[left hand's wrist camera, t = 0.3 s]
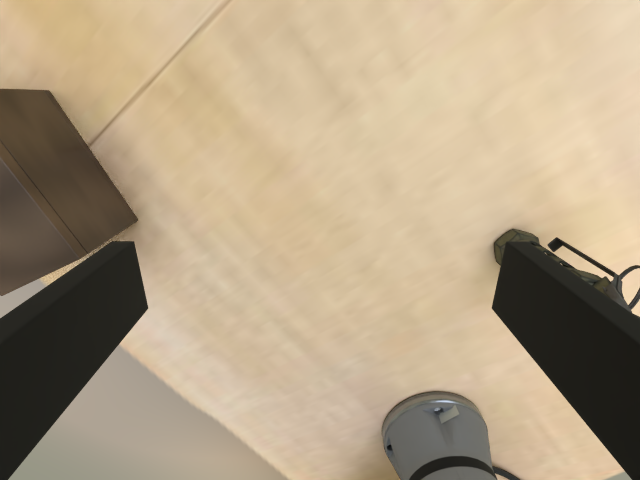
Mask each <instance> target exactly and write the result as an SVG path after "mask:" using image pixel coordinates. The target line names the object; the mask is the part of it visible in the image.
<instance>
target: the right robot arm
mask: <svg viewBox="0 0 640 480" xmlns="http://www.w3.org/2000/svg"><path fill="white" fill-rule="evenodd" d="M382 438H383V444H384V449H385V452H386V454H387V456H388V458H389V460H390V461H391V463H392V465H393V467H394V469H395V470H396V472H397V474H398V476H399V478H400V479H401V480H497V478H496V475H495V473H496V474H499V475H501V476H504V477H506V478H507V479H509V480H520V479H518V478H517V477H515V476H513V475H512V474H510V473H508V472H506V471H504V470H502V469H500V468H497V467H494V466H492V461H491V454H490V446H489V440H488V430H487V426H486V423H485V421H484V420H483V418H482V416H481V414H480V412H479V410H478V409H477V407H476V406H475V405H474V404H473V403H472V402H471V401H469V400H468V399H466V398H464V397H462V396H459V395H456V394H453V393H447V392H429V393H423V394H419V395H416V396H413V397H411V398H408V399H406V400H405V401H403V402H401V403H400V404H398V405H397V406H396V407H395V408H394V409H393V410H392V411H391V412H390V413H389V414H388V416H387V417H386V419H385V421H384V424H383V427H382Z"/></svg>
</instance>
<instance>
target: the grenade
mask: <svg viewBox="0 0 640 480" xmlns="http://www.w3.org/2000/svg"><path fill="white" fill-rule="evenodd" d="M506 241H528V242H529V243H531V244H532V245H534V246H535V247H537V248H538V249H539V250H541V251H542V252H544V253H546V254H547V255H548V256H550V257H551V258H553V259H554V260H555V261H557V262H558V263H561V264H562V265H563V266H564V267H566V268H567V269H569V270H570V271H571V272H573V273H574V274H576V275H577V276H579V277H580V278H582V279H583V280H585V281H586V282H587V283H589V284H590V285H592V286H593V287H595V288H596V289H598V290H599V291H601V292H602V293H603V294H605V295H606V296H608V297H609V298H611V299H612V300H614V301H615V302H617V303H618V304H619V305H621V306H622V307H624V308H625V309H627V310H628V311H630V312H631V313H632V311H631V309H632V308H633V307H634V306H635V305H636V304H637V302H638V301H639V299H640V288H639V290H638V292H637V294H636V296H635V297H634V299H633V300H632V302H631V303H630V304H629V305H627V303H626V301H625V300H624V297H623V294H622V281H621V280H622V278H623V277H624V276H625V275H627V274H628V273H629V272H631V271H632V270H634V269H637V268H640V266H639V265H635V266H632V267H629V268H628V269H626V270H625V271H623V272H622V273H621V274H620V275H617V274H616V273H615V272H613V271H611V270H610V269H608V268H606V267H605V266H603V265H602V264H600V263H598V262H597V261H595V260H593V259H592V258H590V257H588V256H587V255H585V254H583V253H582V252H580V251H578V250H577V249H575V248H574V247H572V246H570V245H569V244H567V243H565V242H564V241H562V240H560V239H559V238H555V239H554V240H553V241H551V242H550V243H549V244H548V247H549V248H550V249H551V250H552V251H553V252H555V251H556V250H557V249H559V248H560V247H561V246H565V247H566V248H568V249H569V250H571V251H573V252H574V253H576V254H577V255H579V256H581V257H582V258H584V259H585V260H587V261H589V262H590V263H592V264H593V265H595V266H597V267H598V268H600V269H601V270H603V271H605V272H606V273H608V274H609V275H611V276H613V277H614V280H613V281H611V282H610V281H609V279H608V278H607V277H606V276H605V277H604V278H600V277H599V276H597V275H594V274H591V273H588V272H584V271H580V270H577V269H575V268H574V267H573V266H571V265H570V264H568V263H567V262H565V261H564V260H562V259H561V258H559V257H557V256H556V255H555V254H553V253H552V252H550V251H549V250H547V249H546V248H544V247H542V246H541V245H540V244H539V239H538V237H536V236H535V235H533V234H531V233H527V232H524V231H520V230H516V229H512V230H510V231H508V232H507V233H505V234H504V235H502V236H501V237H500V238H499V239H498V240H497V241H496V242H495V244H494V250H495V257H496V262H497V263H498V264H500V265H501V263H502V258H503V253H504V249H505V244H506Z"/></svg>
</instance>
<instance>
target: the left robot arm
mask: <svg viewBox="0 0 640 480" xmlns="http://www.w3.org/2000/svg"><path fill="white" fill-rule="evenodd" d="M147 309H148V305H147V300H146V295H145V291H144V286H143V281H142V277H141V272H140V267H139V263H138V258H137V253H136V249H135V244H134V241H112V242H111V243H109V244H108V245H106V246H105V247H103V248H102V249H101V250H99V251H98V252H96V253H95V254H93V255H92V256H90V257H89V258H87V259H86V260H85V261H83V262H82V263H80V264H79V265H77V266H76V267H74V268H73V269H71V270H70V271H69V272H67V273H66V274H64V275H63V276H61V277H60V278H58V279H57V280H55V281H54V282H53V283H51V284H50V285H48V286H47V287H45V288H44V289H42V290H41V291H40V292H38V293H37V294H35V295H34V296H32V297H31V298H29V299H28V300H26V301H25V302H24V303H22V304H21V305H19V306H18V307H16V308H15V309H13V310H12V311H10V312H9V313H8V314H6V315H5V316H3V317H2V318H0V480H8V479H9V478H10V476H11V475H12V474H13V473H14V472H15V470H16V469H17V468H18V467H19V465H20V464H21V463H22V462H23V461H24V459H25V458H26V457H27V456H28V454H29V453H30V452H31V451H32V450H33V448H34V447H35V446H36V445H37V443H38V442H39V441H40V440H41V439H42V437H43V436H44V435H45V434H46V432H47V431H48V430H49V429H50V428H51V426H52V425H53V424H54V423H55V422H56V420H57V419H58V418H59V417H60V415H61V414H62V413H63V412H64V411H65V409H66V408H67V407H68V406H69V404H70V403H71V402H72V401H73V400H74V398H75V397H76V396H77V395H78V393H79V392H80V391H81V390H82V388H83V387H84V386H85V385H86V384H87V382H88V381H89V380H90V379H91V378H92V376H93V375H94V374H95V373H96V371H97V370H98V369H99V368H100V366H101V365H102V364H103V363H104V362H105V360H106V359H107V358H108V357H109V355H110V354H111V353H112V352H113V351H114V349H115V348H116V347H117V346H118V345H119V343H120V342H121V341H122V340H123V338H124V337H125V336H126V335H127V334H128V332H129V331H130V330H131V329H132V327H133V326H134V325H135V324H136V323H137V321H138V320H139V319H140V318H141V316H142V315H143V314H144V313H145V312H146V310H147ZM492 309H493V310H494V312H495V313H496V314H497V315H498V316H499V318H500V319H501V320H502V321H503V323H504V324H505V325H506V326H507V327H508V329H509V330H510V331H511V332H512V334H513V335H514V336H515V337H516V338H517V340H518V341H519V342H520V343H521V345H522V346H523V347H524V348H525V349H526V351H527V352H528V353H529V354H530V356H531V357H532V358H533V359H534V360H535V362H536V363H537V364H538V365H539V367H540V368H541V369H542V370H543V371H544V373H545V374H546V375H547V376H548V378H549V379H550V380H551V381H552V382H553V384H554V385H555V386H556V387H557V389H558V390H559V391H560V392H561V393H562V395H563V396H564V397H565V398H566V400H567V401H568V402H569V403H570V404H571V406H572V407H573V408H574V409H575V411H576V412H577V413H578V414H579V415H580V417H581V418H582V419H583V420H584V422H585V423H586V424H587V425H588V426H589V428H590V429H591V430H592V431H593V433H594V434H595V435H596V436H597V437H598V439H599V440H600V441H601V442H602V444H603V445H604V446H605V447H606V448H607V450H608V451H609V452H610V453H611V454H612V456H613V457H614V458H615V459H616V461H617V462H618V463H619V464H620V465H621V467H622V468H623V469H624V470H625V472H626V473H627V474H628V475H629V476H630V478H631V479H632V480H640V317H639V316H637V315H635V314H632V313H631V312H630V311H628V310H627V309H625V308H624V307H622V306H621V305H619V304H618V303H617V302H615V301H614V300H612V299H611V298H609V297H608V296H606V295H605V294H603V293H602V292H601V291H599V290H598V289H596V288H595V287H593V286H592V285H590V284H589V283H587V282H586V281H585V280H583V279H582V278H580V277H579V276H577V275H576V274H574V273H573V272H571V271H570V270H569V269H567V268H566V267H564V266H563V265H561V264H560V263H558V262H557V261H555V260H554V259H553V258H551V257H550V256H548V255H547V254H545V253H544V252H542V251H541V250H539V249H538V248H537V247H535V246H534V245H532V244H531V243H529V242H528V241H506V244H505V249H504V253H503V258H502V263H501V267H500V272H499V277H498V281H497V286H496V291H495V295H494V300H493V305H492Z"/></svg>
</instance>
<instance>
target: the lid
mask: <svg viewBox="0 0 640 480" xmlns="http://www.w3.org/2000/svg"><path fill="white" fill-rule="evenodd" d="M85 255H87V252H86V251H85V250H84V249H83V247H82V246H81V245H80V243H79V242H78V241H77V240H76V238H75V237H74V236H73V234H72V233H71V232H70V230H69V229H68V228H67V227H66V225H65V224H64V223H63V221H62V220H61V219H60V218H59V216H58V215H57V214H56V212H55V211H54V210H53V209H52V207H51V206H50V205H49V203H48V202H47V201H46V199H45V198H44V197H43V196H42V194H41V193H40V192H39V190H38V189H37V188H36V187H35V185H34V184H33V183H32V181H31V180H30V179H29V177H28V176H27V175H26V174H25V172H24V171H23V170H22V168H21V167H20V166H19V165H18V163H17V162H16V161H15V159H14V158H13V157H12V155H11V154H10V153H9V152H8V150H7V149H6V148H5V146H4V145H3V144H2V143H1V141H0V295H1V296H3V295H5V294H7V293H9V292H11V291H13V290H16V289H18V288H20V287H22V286H24V285H26V284H28V283H30V282H32V281H35V280H37V279H39V278H41V277H43V276H45V275H47V274H49V273H51V272H54V271H56V270H58V269H60V268H62V267H64V266H66V265H68V264H70V263H73V262H75V261H77V260H79V259H81V258H82V257H84V256H85Z"/></svg>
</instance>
